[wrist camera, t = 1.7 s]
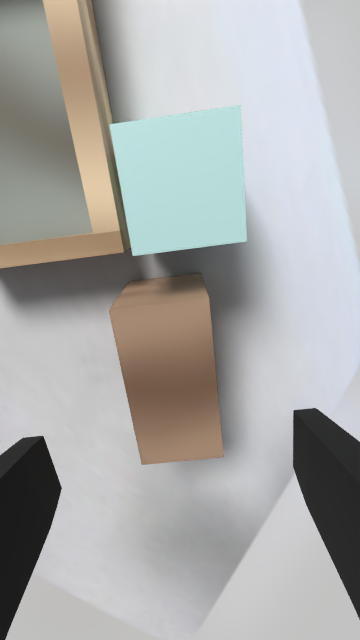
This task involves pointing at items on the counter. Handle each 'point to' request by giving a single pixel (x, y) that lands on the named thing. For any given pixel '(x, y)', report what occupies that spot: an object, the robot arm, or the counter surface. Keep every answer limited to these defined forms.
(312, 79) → the counter surface
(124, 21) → the counter surface
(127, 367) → the tan cardboard box
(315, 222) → the counter surface
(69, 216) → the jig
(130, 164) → the block
